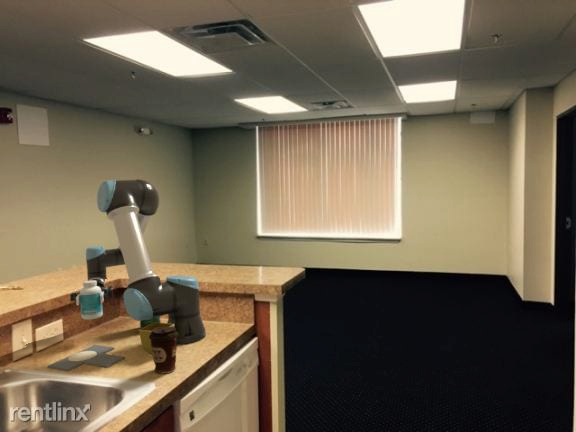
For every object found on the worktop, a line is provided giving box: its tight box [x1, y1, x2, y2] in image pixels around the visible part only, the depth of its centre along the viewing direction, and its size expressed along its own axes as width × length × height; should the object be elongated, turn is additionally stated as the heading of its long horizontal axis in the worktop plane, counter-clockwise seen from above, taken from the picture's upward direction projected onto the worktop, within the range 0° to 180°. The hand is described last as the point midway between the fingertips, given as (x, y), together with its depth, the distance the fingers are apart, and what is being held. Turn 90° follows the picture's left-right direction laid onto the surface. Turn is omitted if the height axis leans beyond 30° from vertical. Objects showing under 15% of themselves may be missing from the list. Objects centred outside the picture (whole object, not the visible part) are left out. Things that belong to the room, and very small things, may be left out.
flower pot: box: [138, 322, 174, 355], centre depth 160 cm, size 9×9×9 cm
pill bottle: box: [79, 280, 104, 320], centre depth 173 cm, size 8×7×14 cm
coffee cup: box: [149, 327, 178, 374], centre depth 144 cm, size 9×8×13 cm
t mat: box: [47, 344, 126, 372], centre depth 156 cm, size 19×20×1 cm
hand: (89, 300), depth 168 cm, fingers closed on pill bottle, 7 cm apart
